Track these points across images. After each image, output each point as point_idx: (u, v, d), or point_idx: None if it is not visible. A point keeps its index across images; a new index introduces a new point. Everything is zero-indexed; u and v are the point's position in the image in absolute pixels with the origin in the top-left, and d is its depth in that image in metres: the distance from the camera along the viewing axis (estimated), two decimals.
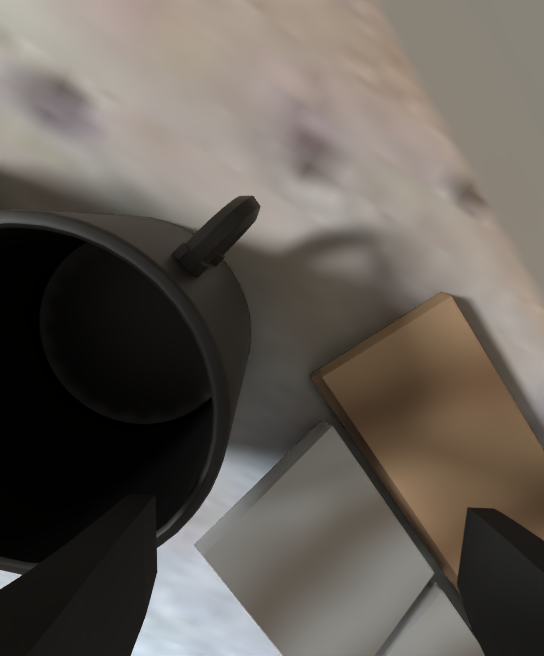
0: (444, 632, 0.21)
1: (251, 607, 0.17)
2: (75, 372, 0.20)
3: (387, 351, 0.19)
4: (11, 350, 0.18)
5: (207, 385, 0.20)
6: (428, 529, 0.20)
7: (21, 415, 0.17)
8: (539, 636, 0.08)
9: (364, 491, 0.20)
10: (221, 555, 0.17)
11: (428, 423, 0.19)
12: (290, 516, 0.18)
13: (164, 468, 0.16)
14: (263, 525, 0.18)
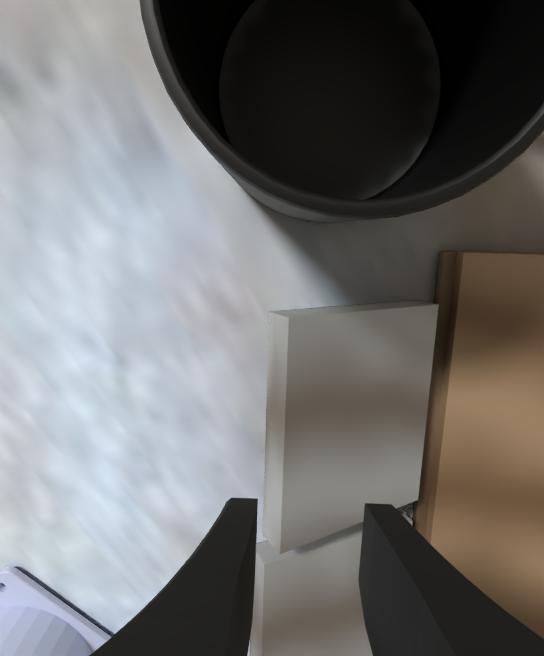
0: None
1: (290, 401, 0.15)
2: (239, 88, 0.17)
3: (534, 269, 0.18)
4: (225, 0, 0.15)
5: (350, 192, 0.18)
6: (442, 456, 0.20)
7: (201, 63, 0.14)
8: (402, 630, 0.08)
9: (421, 382, 0.19)
10: (300, 332, 0.15)
11: (516, 359, 0.19)
12: (365, 350, 0.17)
13: None
14: (343, 337, 0.16)
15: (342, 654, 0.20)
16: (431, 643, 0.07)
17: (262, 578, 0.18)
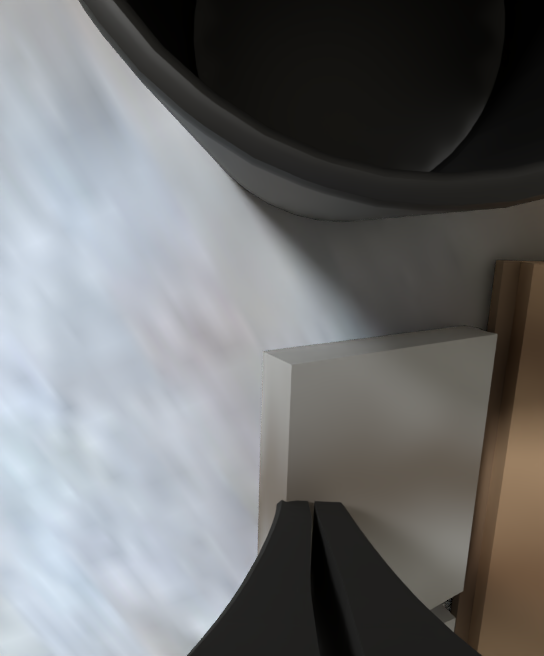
0: None
1: (294, 485, 0.10)
2: (223, 34, 0.12)
3: None
4: None
5: None
6: (497, 535, 0.15)
7: None
8: (334, 627, 0.08)
9: (473, 440, 0.14)
10: (309, 384, 0.10)
11: None
12: (400, 403, 0.12)
13: None
14: (371, 388, 0.11)
15: None
16: (351, 639, 0.07)
17: None
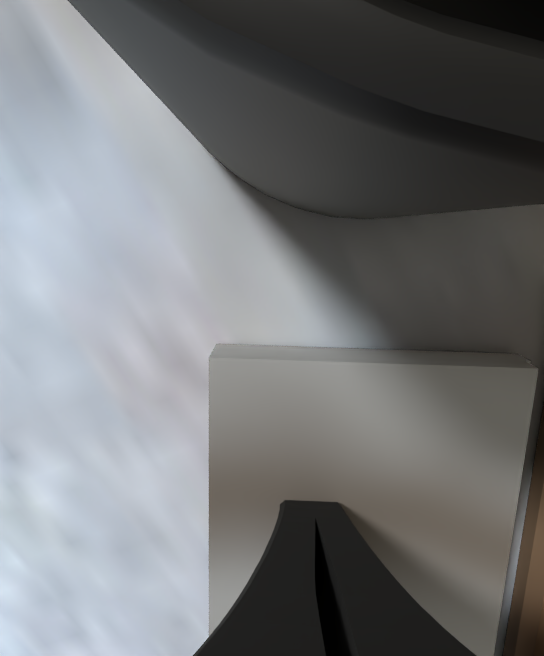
0: None
1: (216, 477, 0.11)
2: None
3: None
4: None
5: None
6: None
7: None
8: (330, 627, 0.08)
9: (495, 500, 0.11)
10: (231, 380, 0.10)
11: None
12: (360, 425, 0.10)
13: None
14: (313, 399, 0.10)
15: None
16: (345, 639, 0.07)
17: None
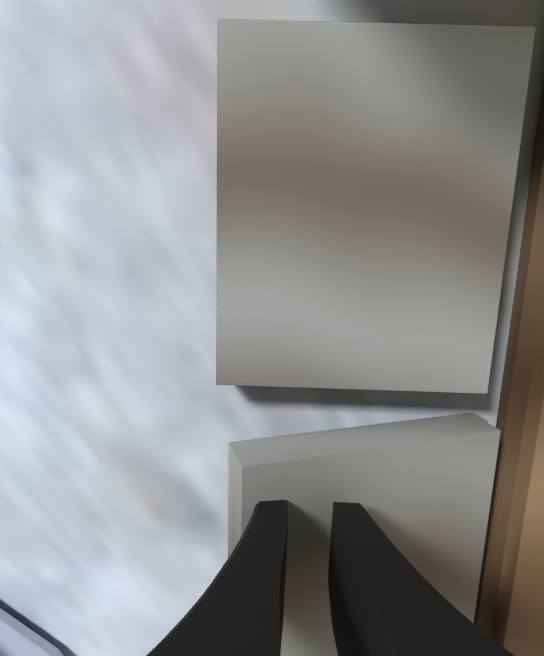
0: (461, 488, 0.12)
1: (224, 152, 0.11)
2: None
3: None
4: None
5: None
6: None
7: None
8: (360, 629, 0.08)
9: (493, 175, 0.11)
10: (239, 44, 0.10)
11: None
12: (363, 93, 0.11)
13: None
14: (319, 64, 0.10)
15: None
16: (381, 641, 0.07)
17: (240, 493, 0.10)
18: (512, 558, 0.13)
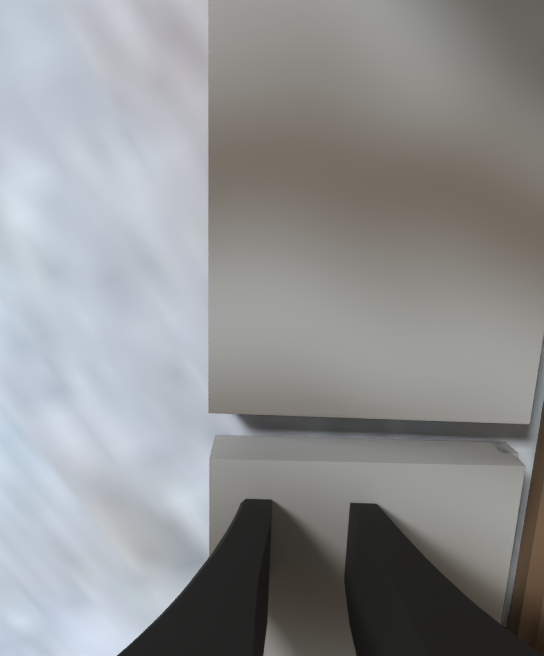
0: (470, 525, 0.11)
1: (217, 136, 0.09)
2: None
3: None
4: None
5: None
6: None
7: None
8: (382, 629, 0.08)
9: (543, 164, 0.09)
10: (234, 3, 0.09)
11: None
12: (386, 63, 0.09)
13: None
14: (332, 28, 0.09)
15: None
16: (407, 642, 0.07)
17: None
18: None
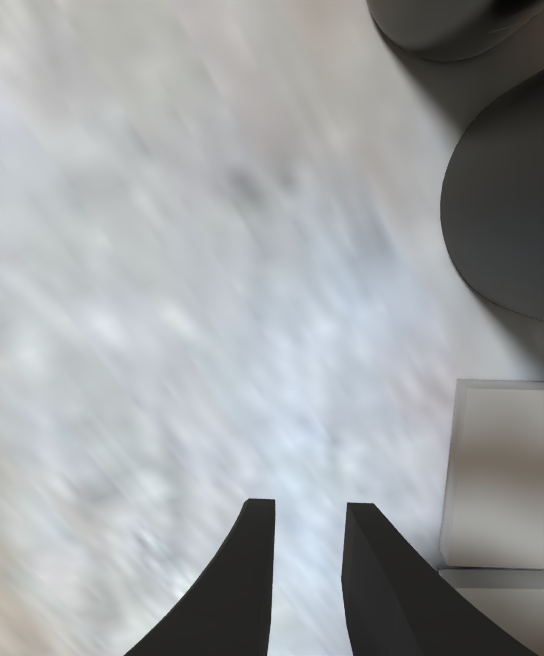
0: None
1: (465, 450, 0.20)
2: None
3: None
4: None
5: None
6: None
7: None
8: (378, 629, 0.08)
9: None
10: (478, 400, 0.20)
11: None
12: (543, 422, 0.20)
13: None
14: (520, 409, 0.20)
15: None
16: (403, 642, 0.07)
17: None
18: None
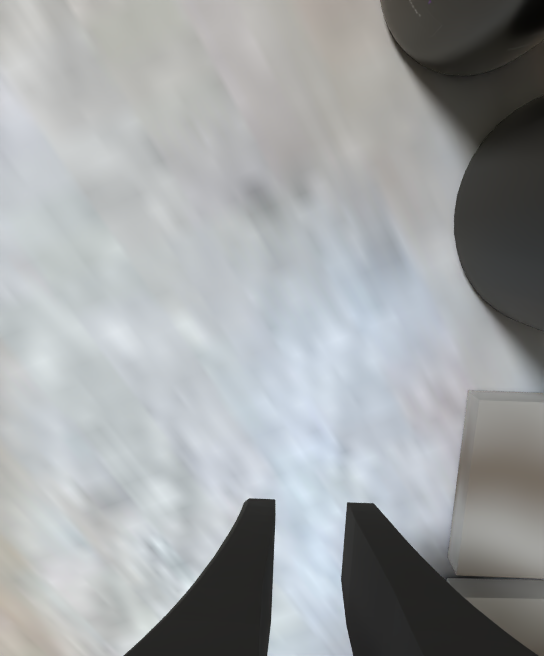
0: None
1: (475, 461, 0.20)
2: None
3: None
4: None
5: None
6: None
7: None
8: (378, 629, 0.08)
9: None
10: (489, 411, 0.20)
11: None
12: None
13: None
14: (531, 421, 0.20)
15: None
16: (403, 642, 0.07)
17: None
18: None
